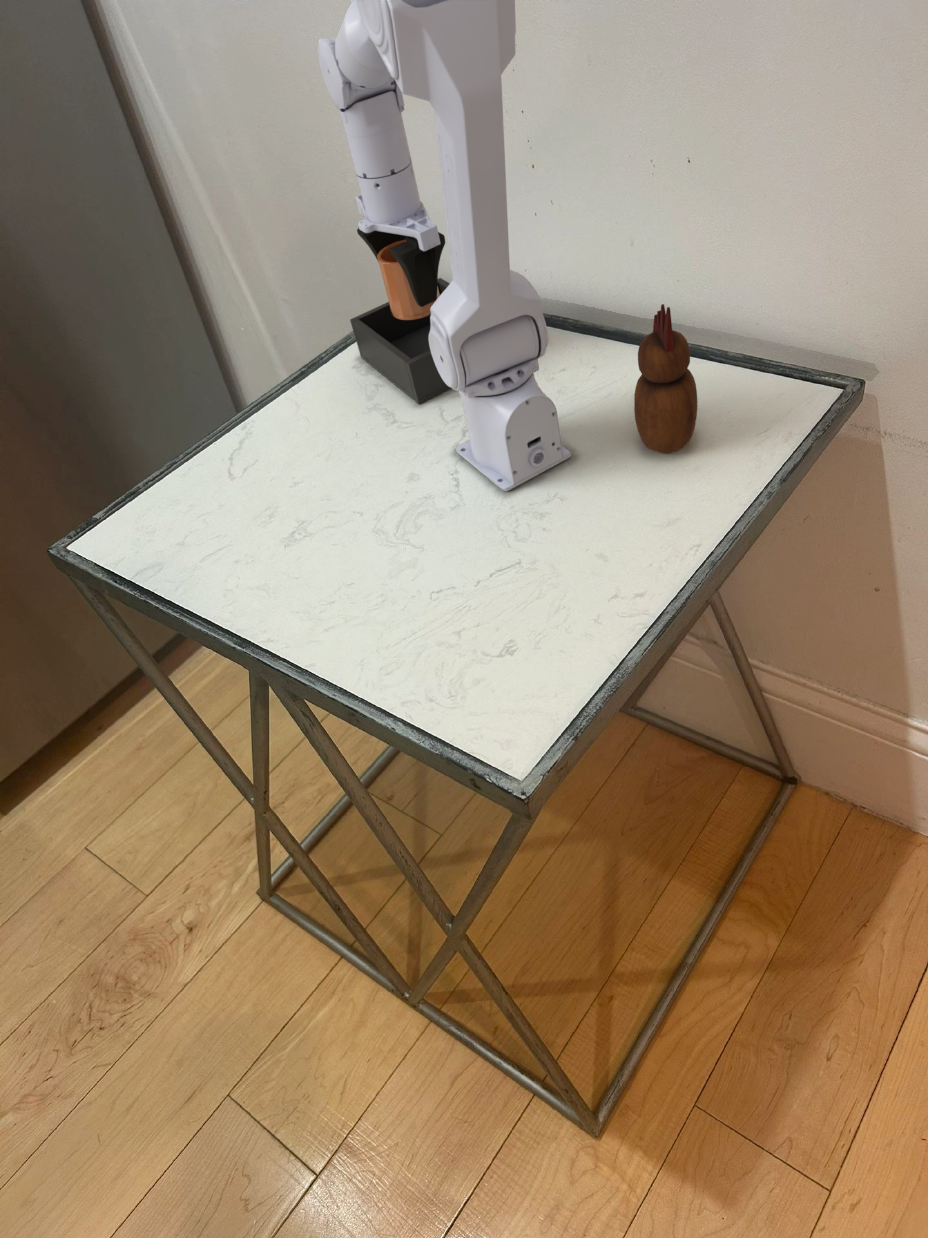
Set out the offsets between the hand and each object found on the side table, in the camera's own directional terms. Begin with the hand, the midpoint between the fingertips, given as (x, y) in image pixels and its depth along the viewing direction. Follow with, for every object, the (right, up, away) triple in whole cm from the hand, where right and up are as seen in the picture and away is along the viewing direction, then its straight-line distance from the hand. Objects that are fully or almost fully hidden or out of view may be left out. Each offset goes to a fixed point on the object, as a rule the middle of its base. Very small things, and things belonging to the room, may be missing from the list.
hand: (413, 293), depth 104 cm
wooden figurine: (+25, -19, -12) cm, 34 cm away
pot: (0, -1, +1) cm, 2 cm away
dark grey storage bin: (+2, -5, +7) cm, 9 cm away
